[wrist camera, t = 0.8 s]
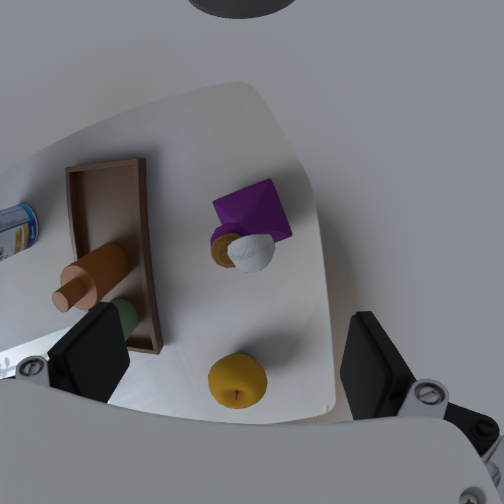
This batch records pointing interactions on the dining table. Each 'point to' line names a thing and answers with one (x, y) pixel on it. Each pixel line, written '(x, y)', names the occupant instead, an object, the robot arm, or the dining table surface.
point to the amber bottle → (91, 277)
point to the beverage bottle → (17, 230)
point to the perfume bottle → (249, 227)
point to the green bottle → (126, 315)
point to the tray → (117, 235)
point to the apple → (237, 381)
